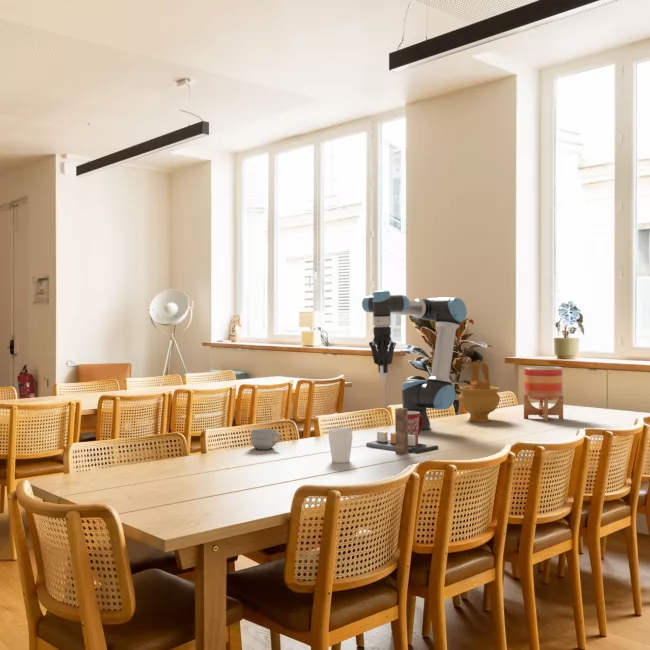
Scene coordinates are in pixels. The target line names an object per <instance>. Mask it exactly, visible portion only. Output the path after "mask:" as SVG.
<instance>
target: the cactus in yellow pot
mask: <svg viewBox="0 0 650 650" xmlns="http://www.w3.org/2000/svg"><path fill="white" fill-rule="evenodd" d="M481 371H482V374H483V378H482V380H480V378H479V374H480V364H479V363H478V362H474V363H472V365H471V374H472V375H471V378H470V381H469V382H470V385H463V386H459V387H458V388H459V389H460V390H461V393H460V394H459V395H458V401H459V404H460V406H461V408H462V409H463V410H464V411H466V412H467V413H469V416H470V417H469V419H468V421H469V420H470V422H477V423H485V422H490V419H489V414H490V413H492V412H494V411H495V410H496V409H497V407H498V406H499V403H500V402H501V401H500V400H501V397H500V395H499V394H498V393H497V392H498V390H499V389H500V387H497V386H491V385H490V375H489V373H490V372H489V366H488V364H487V363H486V362H482V365H481Z"/></svg>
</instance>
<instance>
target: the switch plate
mask: <svg viewBox="0 0 650 650" xmlns="http://www.w3.org/2000/svg"><path fill="white" fill-rule="evenodd" d="M365 444H366V445H365V446H366V447H367V448H375V449H381V450H387V451H394V452H396V444H395V443H391V439H388V441H387V442H381V441H377V440H373V441H370V442H366V443H365ZM426 447H427V444H423V443H418V444H417V443H415V445H414V446H410V445H408V453H415V452H414V450H416V449H421V448H426ZM408 453H407V454H408Z"/></svg>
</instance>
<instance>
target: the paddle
mask: <svg viewBox="0 0 650 650" xmlns="http://www.w3.org/2000/svg"><path fill="white" fill-rule="evenodd" d="M388 440H389V439H388V431H381V430H379V431H378V430H377V431H376V441H381V442H387V441H388Z"/></svg>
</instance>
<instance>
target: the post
mask: <svg viewBox="0 0 650 650" xmlns="http://www.w3.org/2000/svg"><path fill="white" fill-rule="evenodd" d="M394 410H395V411H394V412H395V413H394V414H395V419H394V420H395V421H394V422H395V424H394V426H395V433H396V451H395V455H396V454H397V455H401V456H402V455H407V454H408V409H407V408H403V407H397V408H395V409H394Z"/></svg>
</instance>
